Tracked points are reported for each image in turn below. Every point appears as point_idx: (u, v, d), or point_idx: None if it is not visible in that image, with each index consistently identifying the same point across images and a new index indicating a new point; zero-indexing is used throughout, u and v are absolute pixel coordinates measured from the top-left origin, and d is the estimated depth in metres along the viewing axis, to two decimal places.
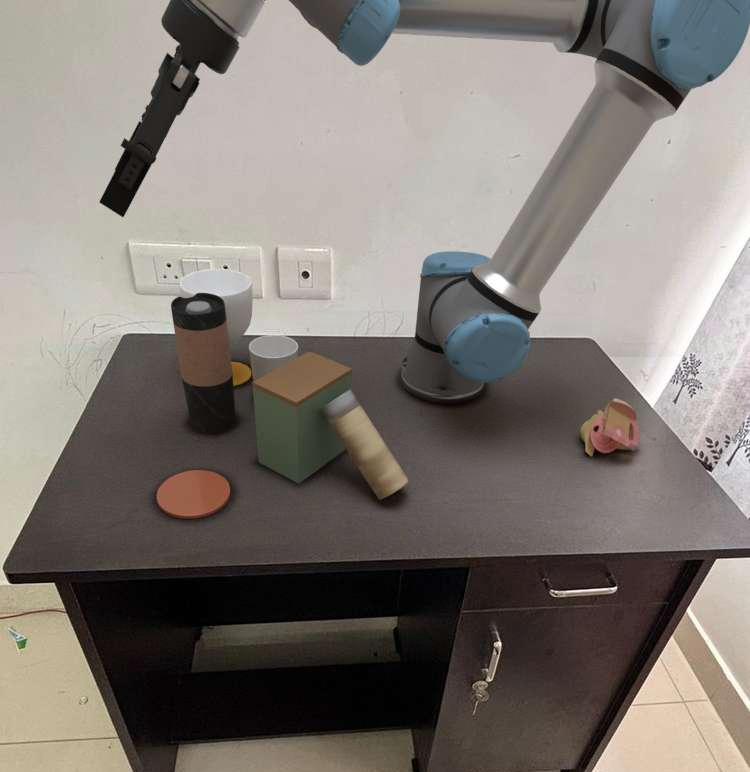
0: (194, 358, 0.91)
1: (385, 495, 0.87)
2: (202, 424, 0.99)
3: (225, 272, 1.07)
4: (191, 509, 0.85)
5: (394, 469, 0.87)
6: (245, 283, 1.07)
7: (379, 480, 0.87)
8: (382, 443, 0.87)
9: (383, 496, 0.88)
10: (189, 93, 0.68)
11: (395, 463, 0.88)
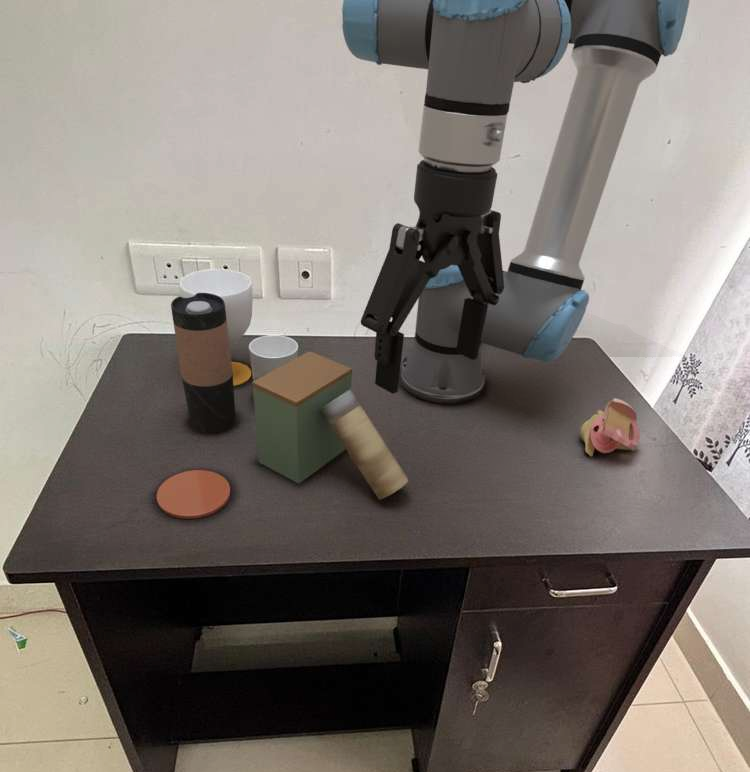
0: (194, 358, 0.91)
1: (385, 495, 0.87)
2: (202, 424, 0.99)
3: (225, 272, 1.07)
4: (191, 509, 0.85)
5: (394, 469, 0.87)
6: (245, 283, 1.07)
7: (379, 480, 0.87)
8: (382, 443, 0.87)
9: (383, 496, 0.87)
10: None
11: (395, 463, 0.88)
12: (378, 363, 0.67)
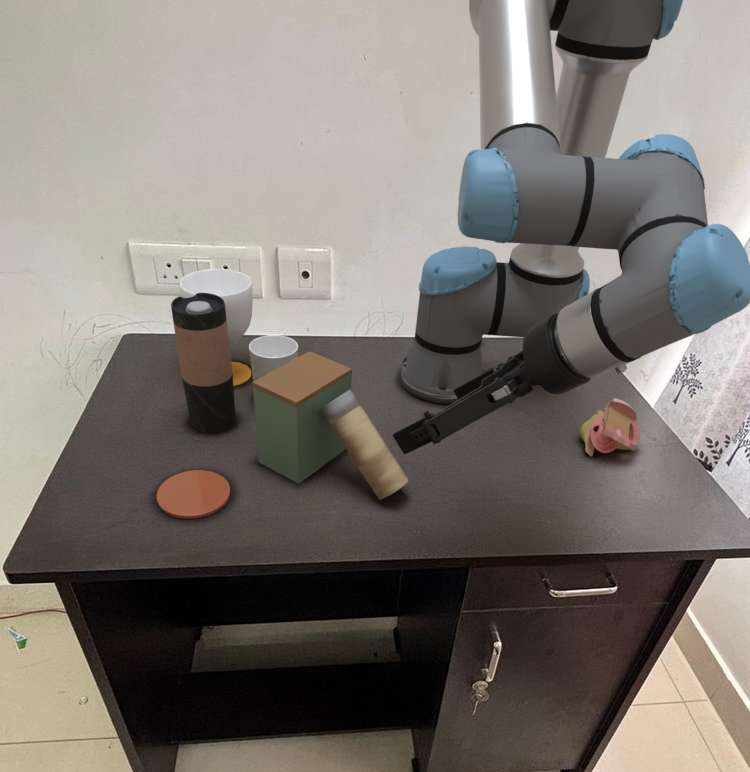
0: (194, 358, 0.91)
1: (385, 495, 0.87)
2: (202, 424, 0.99)
3: (225, 272, 1.07)
4: (191, 509, 0.85)
5: (394, 469, 0.87)
6: (245, 283, 1.07)
7: (379, 480, 0.87)
8: (382, 443, 0.87)
9: (383, 496, 0.87)
10: None
11: (395, 463, 0.88)
12: (407, 429, 0.72)
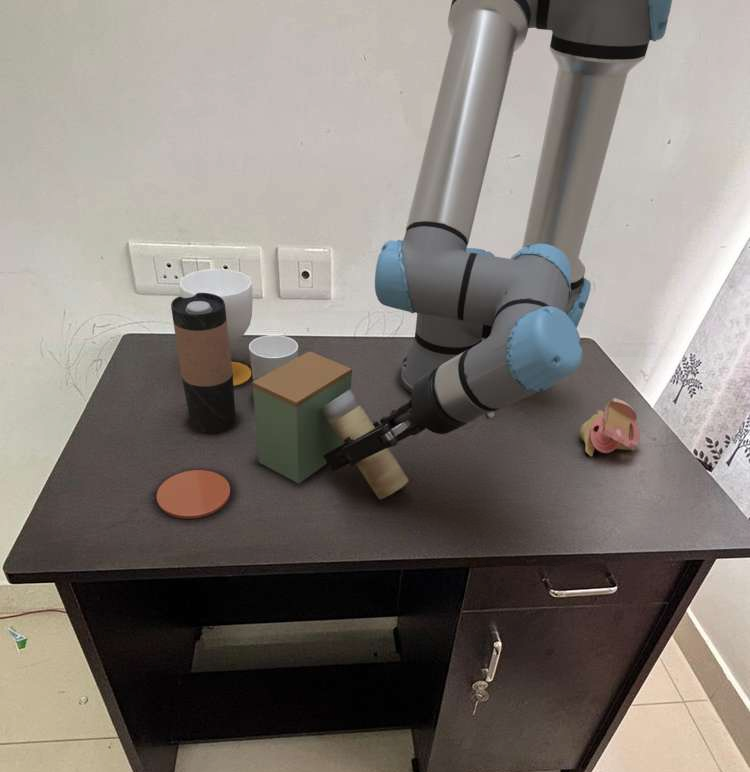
0: (194, 358, 0.91)
1: (385, 495, 0.87)
2: (202, 424, 0.99)
3: (225, 272, 1.07)
4: (191, 509, 0.85)
5: (394, 468, 0.87)
6: (245, 283, 1.07)
7: (379, 480, 0.87)
8: None
9: (383, 496, 0.87)
10: None
11: (395, 463, 0.88)
12: (333, 451, 0.88)
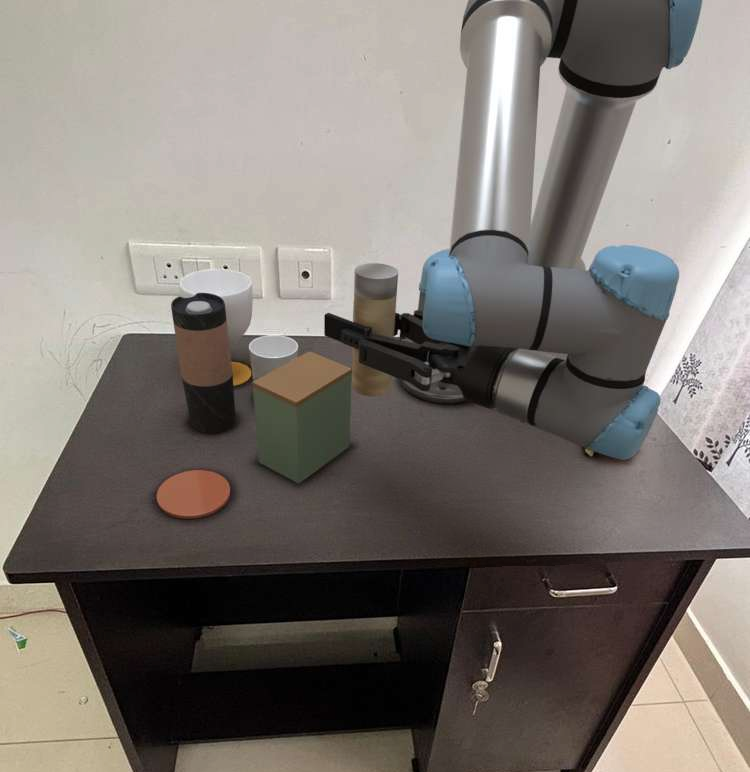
0: (194, 358, 0.91)
1: (363, 393, 0.80)
2: (202, 424, 0.99)
3: (225, 272, 1.07)
4: (191, 509, 0.85)
5: (387, 374, 0.79)
6: (245, 283, 1.07)
7: (367, 378, 0.78)
8: None
9: (360, 392, 0.80)
10: None
11: None
12: (340, 322, 0.75)
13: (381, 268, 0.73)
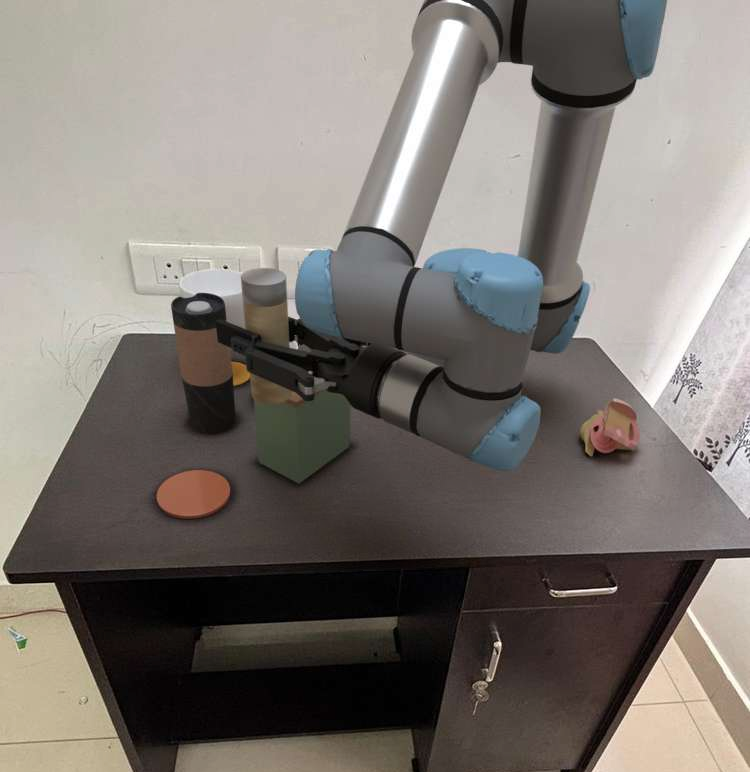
0: (194, 358, 0.91)
1: (261, 401, 0.78)
2: (202, 424, 0.99)
3: (225, 272, 1.07)
4: (191, 509, 0.85)
5: None
6: None
7: (263, 386, 0.76)
8: None
9: (259, 400, 0.78)
10: (350, 344, 0.71)
11: None
12: (231, 329, 0.73)
13: (269, 273, 0.71)
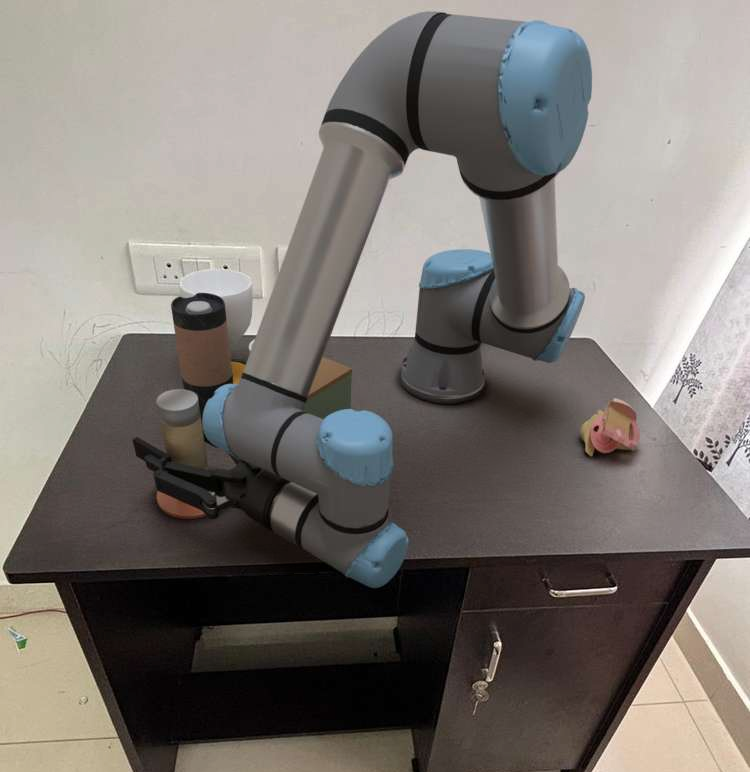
0: (194, 358, 0.91)
1: None
2: None
3: (225, 272, 1.07)
4: (191, 509, 0.85)
5: None
6: (245, 283, 1.07)
7: None
8: (203, 458, 0.84)
9: None
10: None
11: None
12: (145, 448, 0.81)
13: (183, 396, 0.79)
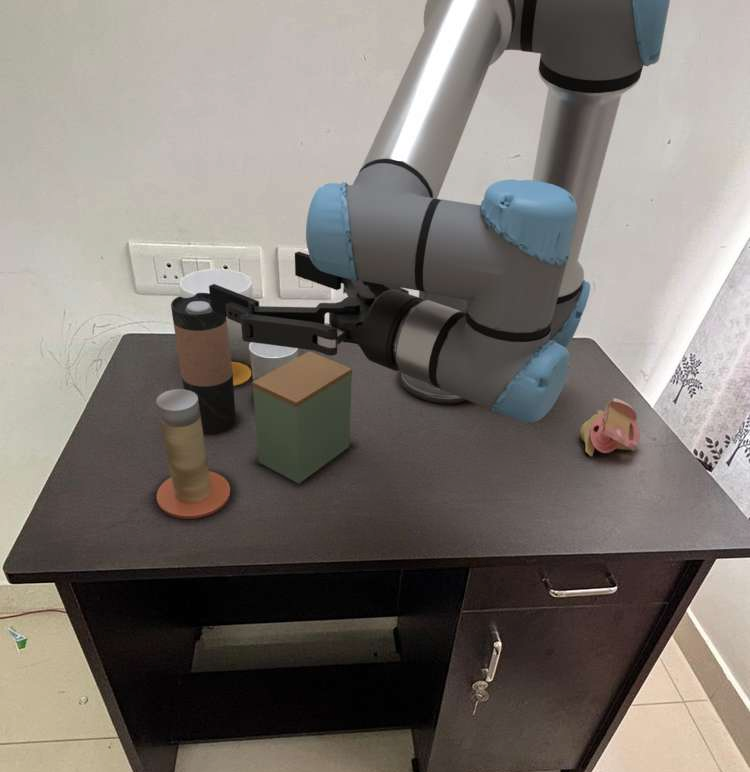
0: (194, 358, 0.91)
1: (182, 500, 0.86)
2: (202, 424, 0.99)
3: (225, 272, 1.07)
4: (191, 509, 0.85)
5: (202, 484, 0.85)
6: (245, 283, 1.07)
7: (182, 488, 0.85)
8: (203, 458, 0.84)
9: (179, 499, 0.86)
10: None
11: (206, 478, 0.86)
12: (225, 294, 0.66)
13: (183, 396, 0.79)
